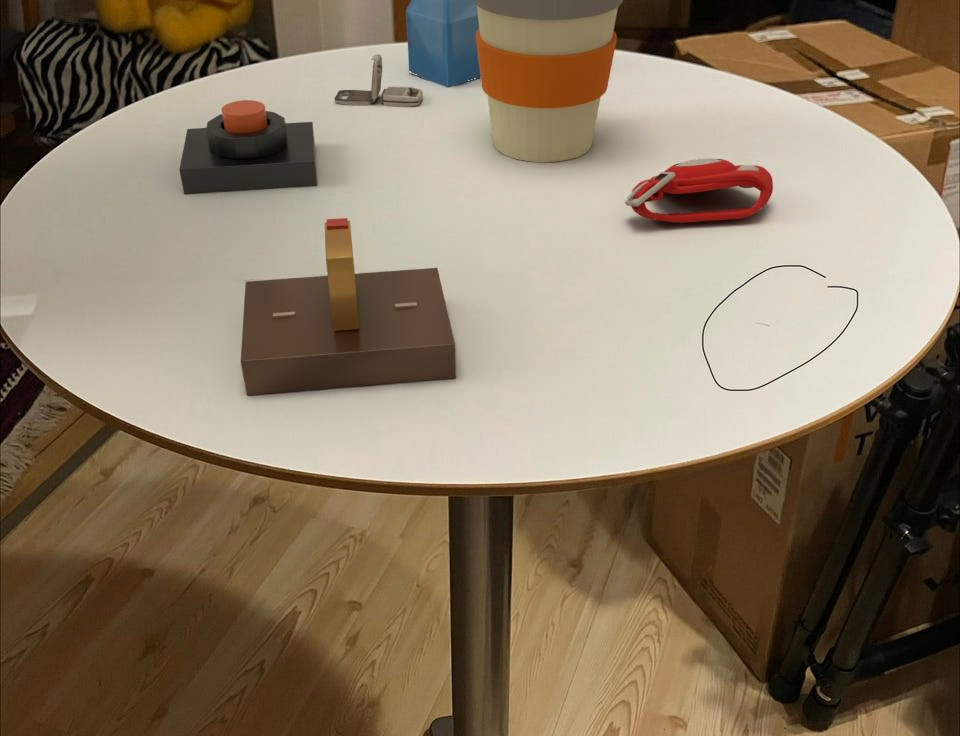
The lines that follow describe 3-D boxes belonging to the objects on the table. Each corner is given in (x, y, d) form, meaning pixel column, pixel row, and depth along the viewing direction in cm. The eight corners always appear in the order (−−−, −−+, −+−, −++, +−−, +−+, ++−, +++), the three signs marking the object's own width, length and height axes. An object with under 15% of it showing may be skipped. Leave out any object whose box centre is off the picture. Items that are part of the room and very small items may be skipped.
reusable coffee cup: (552, 107, 101) (558, -64, 92) (640, 147, 94) (658, -35, 84) (446, 137, 96) (441, -42, 86) (531, 182, 88) (536, -9, 78)
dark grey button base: (184, 194, 87) (174, 147, 84) (191, 153, 93) (183, 108, 91) (317, 186, 88) (312, 139, 85) (315, 145, 94) (310, 101, 92)
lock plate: (246, 395, 64) (240, 359, 62) (250, 313, 72) (245, 279, 70) (456, 378, 65) (455, 341, 64) (438, 299, 73) (437, 265, 71)
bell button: (223, 137, 87) (220, 116, 85) (225, 121, 89) (222, 101, 88) (267, 134, 87) (264, 114, 86) (268, 119, 90) (265, 98, 89)
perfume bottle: (447, 87, 106) (444, -42, 98) (409, 73, 109) (403, -53, 102) (492, 73, 109) (492, -53, 101) (453, 60, 113) (450, -64, 105)
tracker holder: (661, 157, 89) (780, 147, 84) (664, 210, 91) (781, 203, 86) (613, 177, 79) (746, 166, 75) (618, 236, 81) (747, 229, 76)
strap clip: (423, 97, 104) (422, 53, 101) (419, 108, 102) (417, 63, 99) (340, 94, 105) (336, 50, 102) (333, 105, 102) (329, 60, 100)
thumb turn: (359, 329, 65) (352, 252, 62) (333, 331, 65) (325, 254, 62) (356, 290, 69) (349, 216, 65) (332, 292, 69) (324, 217, 65)
